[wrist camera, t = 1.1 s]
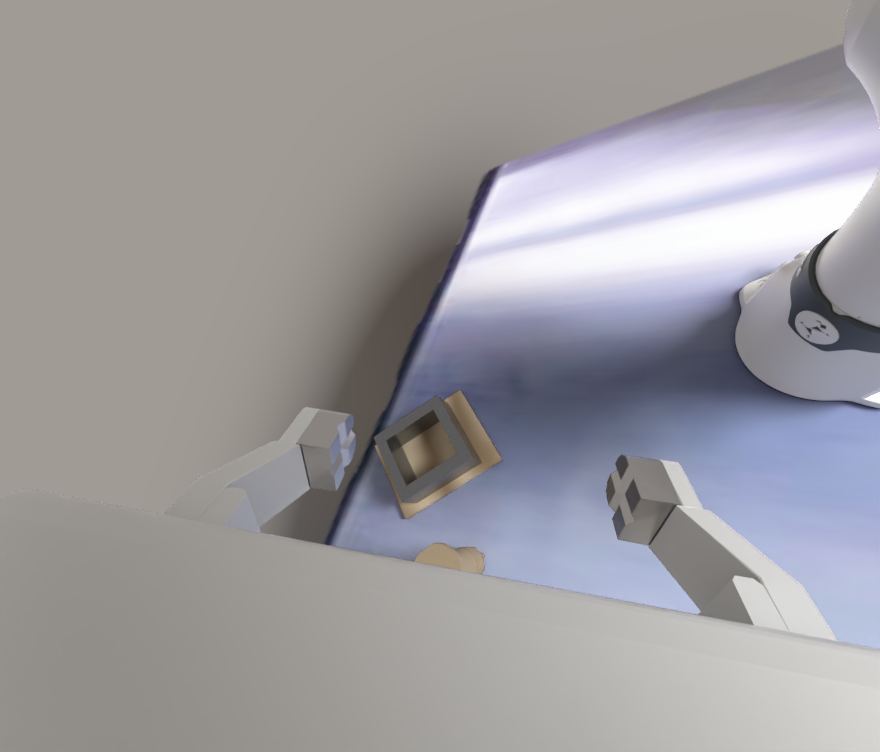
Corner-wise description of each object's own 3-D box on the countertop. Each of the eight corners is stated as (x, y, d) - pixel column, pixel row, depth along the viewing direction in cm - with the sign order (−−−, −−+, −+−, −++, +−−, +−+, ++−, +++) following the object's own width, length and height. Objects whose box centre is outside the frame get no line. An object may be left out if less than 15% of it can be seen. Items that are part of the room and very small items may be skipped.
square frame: (449, 404, 55) (437, 394, 51) (482, 462, 50) (472, 457, 46) (389, 442, 56) (373, 437, 52) (417, 503, 52) (401, 502, 47)
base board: (461, 391, 56) (459, 389, 55) (502, 460, 51) (501, 459, 50) (377, 447, 58) (374, 445, 57) (408, 518, 53) (405, 518, 52)
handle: (446, 570, 48) (395, 592, 35) (471, 527, 49) (430, 533, 36) (476, 596, 46) (433, 630, 33) (502, 550, 47) (470, 566, 34)
